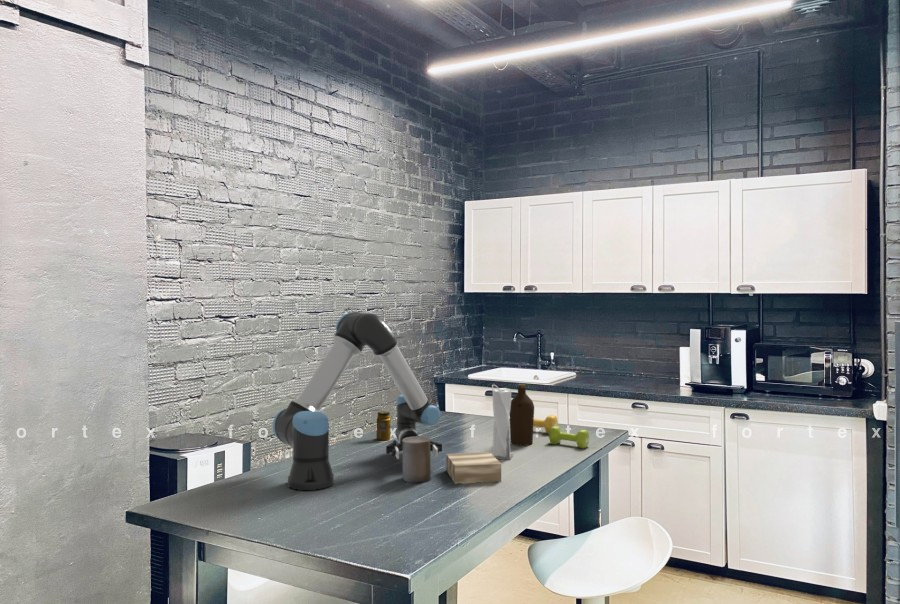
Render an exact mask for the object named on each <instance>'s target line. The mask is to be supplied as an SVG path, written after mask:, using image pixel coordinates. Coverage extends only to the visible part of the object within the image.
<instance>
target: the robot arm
mask: <svg viewBox="0 0 900 604" xmlns="http://www.w3.org/2000/svg"><path fill="white" fill-rule="evenodd" d="M335 329H336V330H335V334H334V335H333V337H332V338H333V344H332V346H331V348H330V349H329V350H328V352H327V354H326V355H325V357H324V358H323V360H322V362H321V363H320V364H319V366H318V368H317V369H316V371H315V372H314V373H313V375H312V377H311V378H310V379H309V381H308V383H307V384H306V386H305V387H304V389H303V391H302V392H301V393H300V395H299V397H297V398H296V399H292V400H291V401H290V403H289V404H288V406H287V407H286V408H284V409H281V410H280V411H279V412H277V413H276V415H275V416H274V418H273V419H272V420H273V421H272V432H273V433H274V436H275V437H276V439H277V440H278V441H280V442H281V443H283V444H284V445H288V446H291V447H292V464H291V468H290V471H289V474H288V477H287V487H288V486H289V487H291V488H293V489H292V490H295V489H298V490H297V491H303V490H310V491H317V490H316V489H319V490H322V489H321V488H324V489H326V487H327V488H329V486H330V487H332V486H333V485H334V483H335V475H334V473H333V470H332V467H331V463H330V459H329V458H330V456H329V453H330V452H329V451H330V450H329V448H330V445H329V443H330V436H329V435H330V423H329V417H328V415H327V414H326V413H324V412H321V411H320V410H321V409H322V406H323V405H324V404H325V402H326V401H327V399H328V398H329V396H330V394H331V392H332V391H333V389H334V388H335V386H336V385H337V383H338V382H339V380H340V378H341V376H342V375H343V373H344V372H345V371H346V369H347V367H348V366H349V364H350V363H351V361H352V360H353V358H354V356H357V355H360V354H361V353H362V351H363V350H364V348H365V347H366V346H367V347H368V348H370V349H371V352H373V354H374V356H376V357H379V358H380V360H381V362H382V363H383V365H384V367H385V368H386V370H387V372H388V374H389V375H390V377H391V379H392V380H393V381H394V384H395V385H396V387H397V388H398V390H399V392H400V395H399V394H398V396H397V399H396V400H397V401H396V429H395V436H396V439H397V440H398V441H397V440H394V439H393V440H392V442H391V443H389V444H387V445H386V447H385V448H386V449H385V454H391V457H395V458H396V460H400V452H403V444H402V442H403V441H402V439H404V438H406V437H413V436H420V435H419V434H418V432H417V424H421V425H424V426H429V427H430V426H431V427H433V426H435V425H436V424H438V422H439V421H440V419H441V411H440V409H439V408H438V407H437V406H435V405H432V404H431V402H430V400H429V399H428V397H427V396H426V392H424V390H423V388H422V387H421V385H420V383H419V381H418V380H417V378H416V376H415V374H414V372H413V371H412V369H411V367H410V365H409V364H408V362H407V361H406V359H405V357H404V355H403V353H402V352H401V350H400V348H399V347H398V345H399V340H398V338H397V337H396V335H395V334H394V332H393V331H392V329H391V328H390V326H389V325H388V324H387V322H386V321H385V320H384V319H383V318H382V317H381V316H379V315H377V314H375V313H371V312H358V311H357V312H356V311H353V312H348V313H346V314H343V315H342V316H341V317H340V318H339V319H338V320H337V323H336V325H335ZM442 451H443V444H442V443H440V442H437V441H433V440H431V439H430V452H432V453H433V455H434V457H435V458H438V457H439V453H440V452H442ZM331 485H332V486H331ZM289 487H288V488H289ZM291 488H290V489H291Z"/></svg>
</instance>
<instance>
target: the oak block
mask: <svg viewBox="0 0 900 604" xmlns="http://www.w3.org/2000/svg"><path fill="white" fill-rule="evenodd" d="M445 456H446V463H445V464H446V465H445V467H446V469H445V470H446V472H447V474H448V475H449V478H452V479H451V480H452V482H453V481H454V482H453V483H454V484H455V485H457V483H462V484H475V483H476V482H481V483H496V482H495V481H500V482H502V462H500V461H499V459H496V458H495V457H494V456H493V454H492V453H491V452H490V451H487V452H485V451H484V452H483V451H481V452H465V453H464V452H461V453H446V455H445ZM476 484H477V483H476Z"/></svg>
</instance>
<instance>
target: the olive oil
mask: <svg viewBox="0 0 900 604" xmlns="http://www.w3.org/2000/svg"><path fill="white" fill-rule="evenodd" d="M517 386H518V387H517V394H516V395H515V396H513V398H511V408H510V415H509V426H510V444H511V443H512V445H514V446H515V445H516V446H530V445H532V444H533V442H534V441H533V439H534V426H533V422H534V419H535V405H534V402H533V400H532V399H531V398H530V397H529V395H528V394H527V391H526V389H527V388H526V386H527V385H526V384H525V383H518V384H517Z"/></svg>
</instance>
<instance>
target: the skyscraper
mask: <svg viewBox="0 0 900 604" xmlns="http://www.w3.org/2000/svg"><path fill="white" fill-rule="evenodd" d="M494 387H495V388H496V389H497V390H496V389H495V390H494ZM491 390H492V410H493V419H494V420H493V421H494V424H493V437H492V438H493V439H492V447H493V451H492V452H493V454H492V455H493V456H494V457H495V458H499V459H498V460H507V459H509V460H512V458H513V457H514V456H513V455H514V454H513V453H511V442H510V408H511V400H512V390H511V389H510V388H507V387H502V388H501V387H500V388H499V386H497V385H496V384H495V383H494V384H492V385H491Z"/></svg>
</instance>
